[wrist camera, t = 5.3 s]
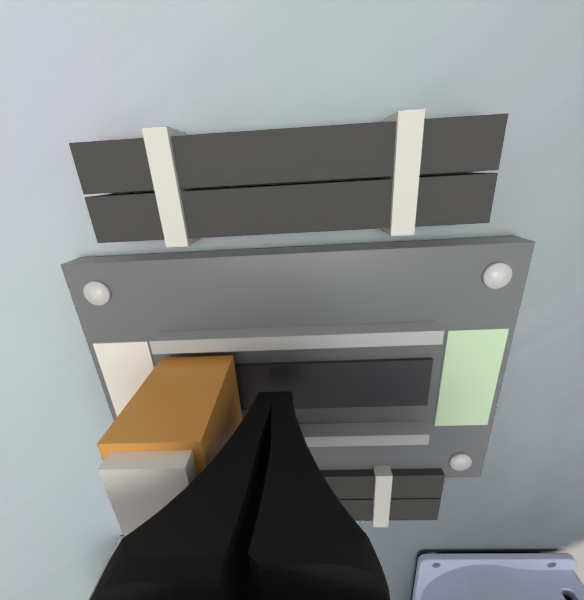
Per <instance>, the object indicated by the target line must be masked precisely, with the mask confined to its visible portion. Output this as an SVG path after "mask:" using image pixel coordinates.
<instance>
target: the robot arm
mask: <svg viewBox="0 0 584 600" xmlns="http://www.w3.org/2000/svg"><path fill="white" fill-rule="evenodd" d="M575 566H576V561H575V559H574V558H573V557H572V555H570V554H568V553H486V554H422V555H421V556H419V558H418V563H417V569H416V576H415V582H414V589H413V596H412V600H584V585H583V584H582V582H581V581H580V579H579V578H578V576H577V575H576V574H575V572H574V568H575ZM89 600H390V595H389V589H388V585H387V581H386V578H385V575H384V572H383V570H382V567H381V564H380V562H379V560H378V557H377V555H376V553H375V551H374V549H373V546H372V544H371V542H370V540H369V538H368V536H367V535H366V534H365V532H364V531H363V530H362V529H361V528H360V526H359V525H358V524H357V523H356V522H355V520H354V519H353V518H352V517H351V515H350V514H349V513H348V511H347V510H346V509H345V507H344V506H343V505H342V503H341V502H340V501H339V499H338V498H337V496H336V495H335V493H334V492H333V490H332V489H331V487H330V486H329V484H328V483H327V481H326V479H325V478H324V476H323V474H322V473H321V471H320V469H319V468H318V466H317V464H316V462H315V460H314V458H313V456H312V454H311V452H310V450H309V448H308V446H307V444H306V441H305V439H304V437H303V434H302V432H301V429H300V426H299V423H298V420H297V417H296V414H295V410H294V405H293V393H291V392H290V391H279V392H259V393H258V394H257V396H256V398H255V400H254V401H253V403H252V405H251V407H250V408H249V410H248V412H247V413H246V415H245V417H244V418H243V420H242V421H241V423H240V424H239V426H238V427H237V429H236V430H235V432H234V433H233V434H232V436H231V437H230V438H229V440H228V441H227V442H226V444H225V445H224V446H223V448H222V449H221V450H220V451H219V453H218V454H217V455H216V456H215V457H214V459H213V460H212V461H211V462H210V463H209V464H208V465H207V466H206V468H205V469H204V470H203V471H202V472H201V473H200V474H199V475H198V476H197V477H196V478H195V479H194V480H193V481H192V482H191V483H190V484H189V485H188V486H187V487H186V488H185V489H184V490H183V491H182V492H181V493H179V494H178V495H177V496H176V497H175V498H174V499H173V500H171V501H170V502H169V503H168V504H167V505H166V506H164V507H163V508H162V509H161V510H160V511H159V512H157V513H156V514H155V515H154V516H152V517H151V518H150V519H148V520H147V521H146V522H144V523H143V524H142V525H140V526H139V527H137V528H136V529H135V530H133V531H132V532H131V533H129V534H128V535H126V536H125V537H124V538H122V540H121V541H120V543H119V545H118V547H117V548H116V550H115V551H114V553H113V554H112V556H111V558H110V560H109V562H108V563H107V565H106V567H105V569H104V571H103V573H102V575H101V577H100V579H99V581H98V583H97V585H96V587H95V589H94V591H93V593H92V595H91V597H90V599H89Z"/></svg>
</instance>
